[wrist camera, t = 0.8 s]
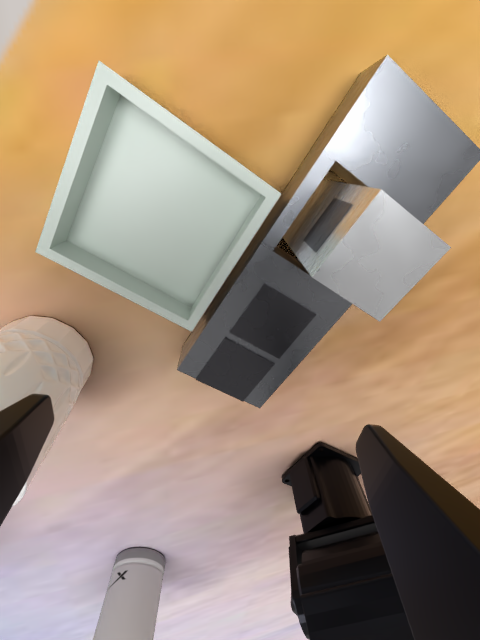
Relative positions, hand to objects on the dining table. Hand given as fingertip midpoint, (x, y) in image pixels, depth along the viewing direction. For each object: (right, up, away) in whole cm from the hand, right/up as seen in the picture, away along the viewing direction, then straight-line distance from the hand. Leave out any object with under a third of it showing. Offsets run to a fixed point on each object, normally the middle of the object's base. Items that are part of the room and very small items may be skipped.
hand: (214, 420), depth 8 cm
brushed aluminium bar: (+6, +9, +11) cm, 15 cm away
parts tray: (-4, +9, +10) cm, 14 cm away
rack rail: (+5, +7, +12) cm, 14 cm away
